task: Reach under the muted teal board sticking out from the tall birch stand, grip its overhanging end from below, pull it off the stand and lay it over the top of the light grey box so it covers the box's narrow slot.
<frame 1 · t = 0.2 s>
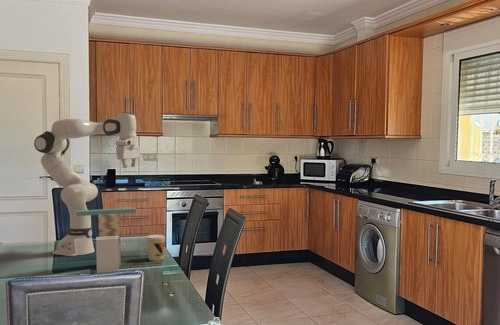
hand: (129, 167, 245), 48 cm above the table, tool pointing down, fingers open, 8 cm apart
grey slot box: (108, 271, 215), on the table
coffee cup: (156, 259, 237), on the table
birch stand: (110, 265, 226), on the table
teal board: (106, 213, 224), point 26 cm above the table, touching birch stand
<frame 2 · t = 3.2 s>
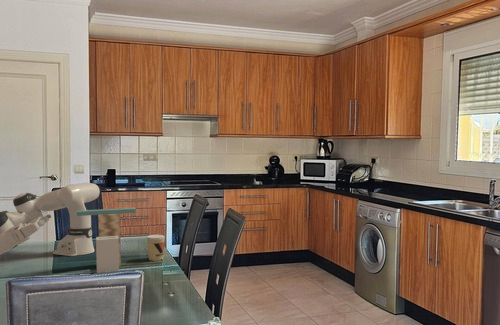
hand: (49, 217, 217), 26 cm above the table, tool pointing upward, fingers open, 8 cm apart
nothing on the table moved.
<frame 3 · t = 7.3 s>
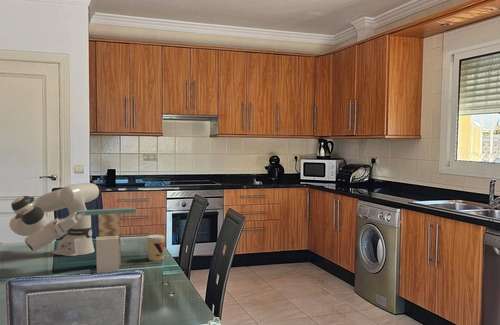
hand: (85, 212, 221), 27 cm above the table, tool pointing upward, fingers closed on teal board, 4 cm apart
teal board: (106, 213, 224), point 26 cm above the table, touching birch stand, gripper
everything else where it was.
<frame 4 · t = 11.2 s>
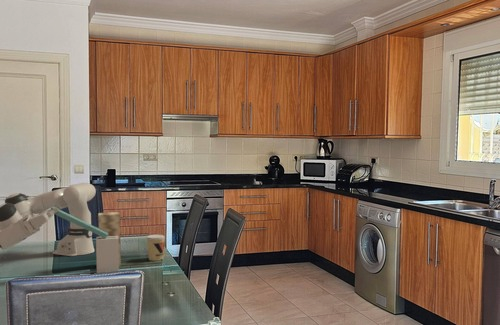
hand: (58, 207, 208), 31 cm above the table, tool pointing upward, fingers closed on teal board, 4 cm apart
teal board: (78, 224, 211), point 23 cm above the table, tilted 30°, touching gripper
everything else where it was.
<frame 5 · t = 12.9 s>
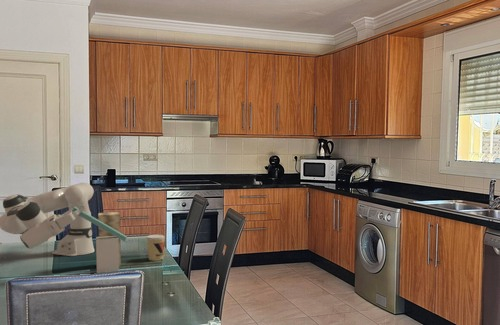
hand: (83, 207, 211), 31 cm above the table, tool pointing upward, fingers closed on teal board, 4 cm apart
teal board: (98, 225, 213), point 22 cm above the table, tilted 34°, touching gripper
everything else where it was.
when the fingers open (19 cm above the table, at t = 15.4 s): teal board stays where it is, resting on grey slot box.
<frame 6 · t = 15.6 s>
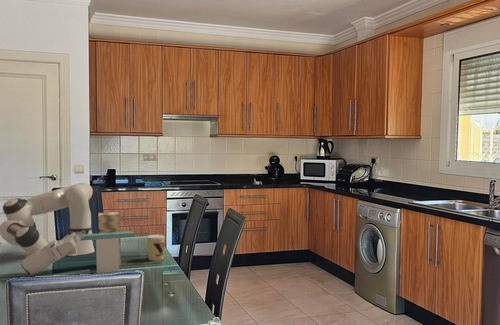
hand: (84, 233, 211), 19 cm above the table, tool pointing upward, fingers open, 6 cm apart
teal board: (103, 238, 214), point 16 cm above the table, touching grey slot box
everything else where it was.
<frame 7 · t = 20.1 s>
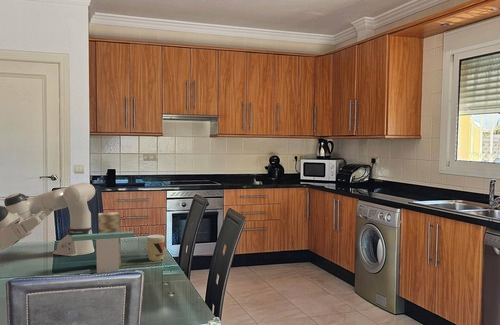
hand: (51, 210, 206), 30 cm above the table, tool pointing upward, fingers open, 8 cm apart
nothing on the table moved.
at the end: teal board inside the target area on the grey slot box (1.7 cm from its centre), point 16.0 cm above the grey slot box's base; teal board touching grey slot box; the gripper is holding nothing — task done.
